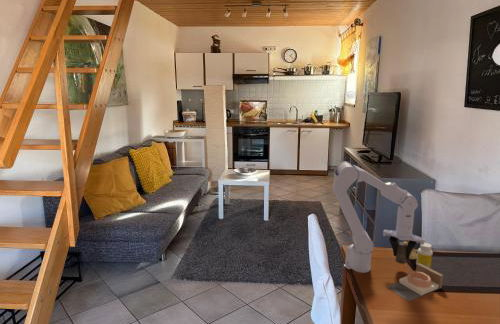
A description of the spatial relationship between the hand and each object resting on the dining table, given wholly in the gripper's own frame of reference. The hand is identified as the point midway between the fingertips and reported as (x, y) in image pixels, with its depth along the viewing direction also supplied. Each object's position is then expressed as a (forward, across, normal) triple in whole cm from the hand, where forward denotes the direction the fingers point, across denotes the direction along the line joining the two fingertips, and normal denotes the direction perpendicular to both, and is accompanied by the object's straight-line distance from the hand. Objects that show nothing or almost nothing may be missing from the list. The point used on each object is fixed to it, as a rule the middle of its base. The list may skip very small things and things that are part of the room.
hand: (401, 256), depth 132 cm
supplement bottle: (+7, +7, +9) cm, 13 cm away
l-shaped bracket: (+6, +7, -10) cm, 14 cm away
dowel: (+2, 0, 0) cm, 2 cm away
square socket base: (+5, +8, -8) cm, 13 cm away
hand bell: (+7, 0, +16) cm, 18 cm away
